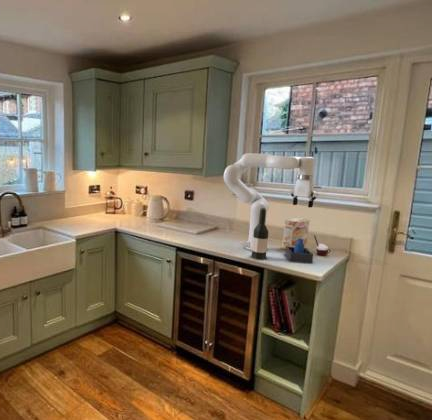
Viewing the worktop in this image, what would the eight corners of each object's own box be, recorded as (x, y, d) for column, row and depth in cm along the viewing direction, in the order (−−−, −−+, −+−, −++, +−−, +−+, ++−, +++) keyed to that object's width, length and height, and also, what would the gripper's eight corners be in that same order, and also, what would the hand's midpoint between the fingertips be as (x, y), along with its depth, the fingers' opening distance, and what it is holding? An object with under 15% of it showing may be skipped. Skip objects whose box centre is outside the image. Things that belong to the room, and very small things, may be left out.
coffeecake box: (290, 251, 230) (294, 221, 226) (281, 248, 236) (284, 219, 233) (306, 248, 236) (310, 219, 232) (297, 245, 242) (300, 217, 239)
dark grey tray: (290, 261, 210) (291, 252, 209) (285, 254, 223) (285, 246, 222) (312, 262, 207) (313, 254, 206) (305, 256, 220) (306, 248, 219)
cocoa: (330, 254, 223) (332, 236, 221) (328, 257, 218) (331, 238, 216) (312, 252, 229) (315, 233, 227) (311, 254, 224) (313, 235, 222)
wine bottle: (248, 255, 219) (253, 207, 214) (261, 255, 220) (266, 207, 214) (255, 259, 211) (259, 209, 205) (268, 259, 212) (273, 209, 206)
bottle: (294, 259, 213) (296, 239, 211) (292, 256, 218) (294, 237, 216) (303, 260, 212) (306, 240, 210) (301, 257, 217) (303, 238, 214)
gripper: (288, 176, 219) (285, 204, 222) (315, 179, 205) (312, 208, 208) (295, 176, 223) (293, 203, 226) (323, 178, 208) (320, 207, 211)
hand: (302, 206), depth 217 cm, fingers open, 9 cm apart
